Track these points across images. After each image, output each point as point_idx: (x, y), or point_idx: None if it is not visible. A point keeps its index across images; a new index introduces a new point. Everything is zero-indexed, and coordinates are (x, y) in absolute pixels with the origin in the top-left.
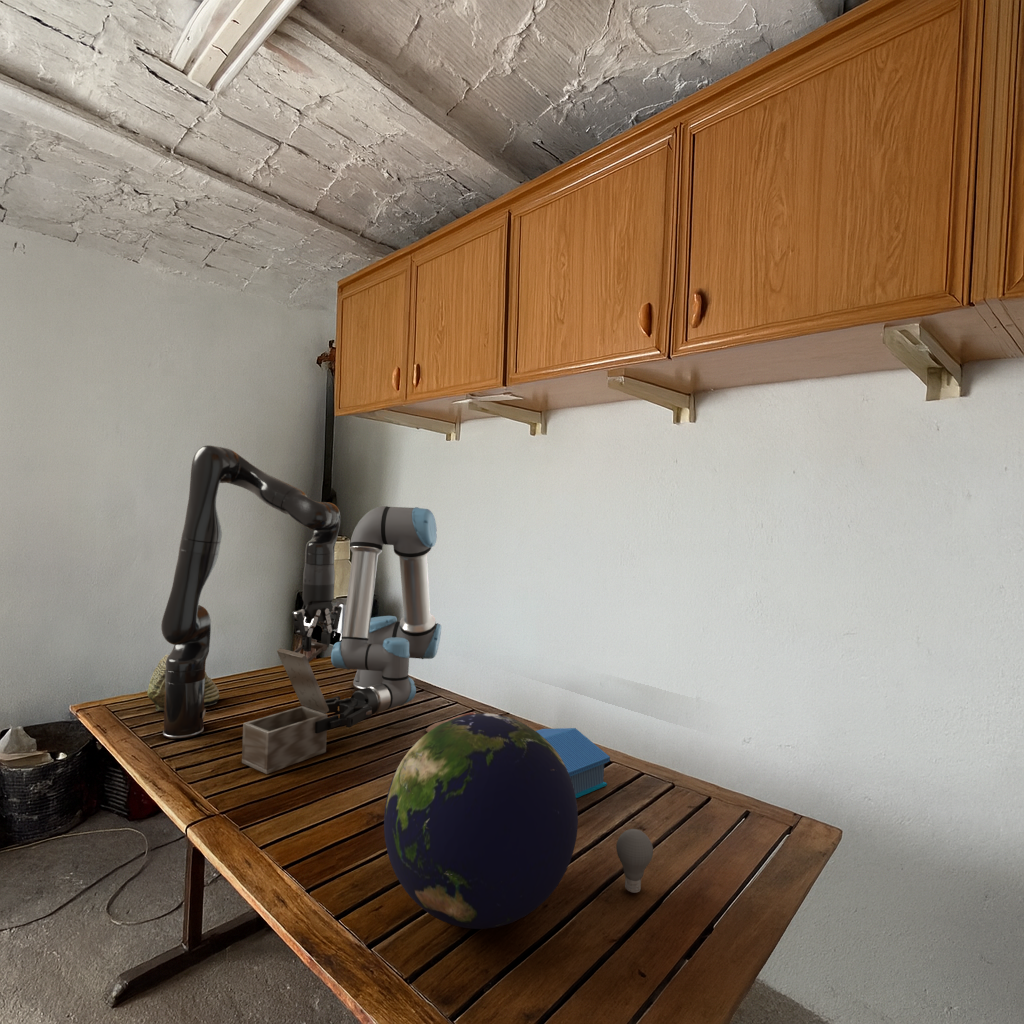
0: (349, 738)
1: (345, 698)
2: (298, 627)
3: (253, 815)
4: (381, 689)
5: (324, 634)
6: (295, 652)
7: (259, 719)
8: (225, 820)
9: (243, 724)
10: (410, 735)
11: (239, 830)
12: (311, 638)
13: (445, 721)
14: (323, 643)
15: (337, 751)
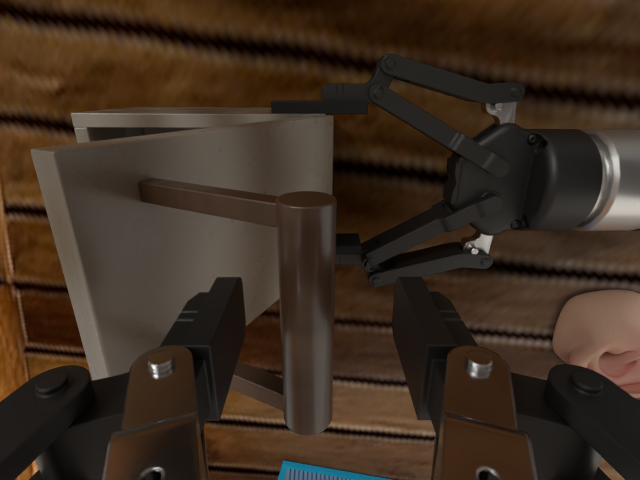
0: (425, 187)
1: (495, 157)
2: (21, 451)
3: (59, 329)
4: (624, 219)
5: (418, 377)
6: (98, 343)
7: (130, 124)
8: (13, 311)
9: (73, 115)
10: (527, 286)
11: (23, 351)
12: (222, 407)
13: (605, 348)
14: (400, 314)
15: (344, 229)
